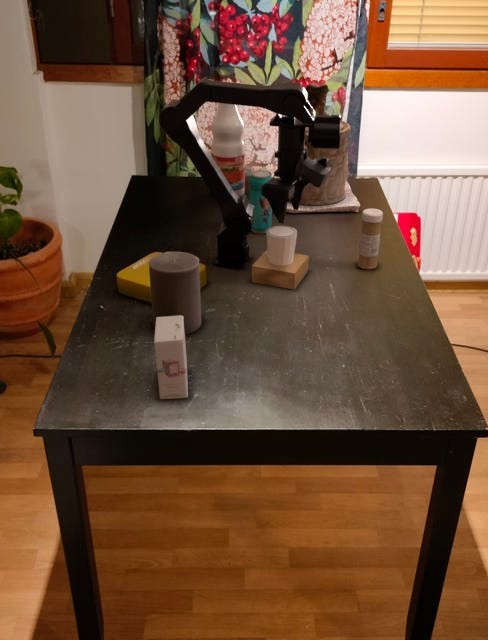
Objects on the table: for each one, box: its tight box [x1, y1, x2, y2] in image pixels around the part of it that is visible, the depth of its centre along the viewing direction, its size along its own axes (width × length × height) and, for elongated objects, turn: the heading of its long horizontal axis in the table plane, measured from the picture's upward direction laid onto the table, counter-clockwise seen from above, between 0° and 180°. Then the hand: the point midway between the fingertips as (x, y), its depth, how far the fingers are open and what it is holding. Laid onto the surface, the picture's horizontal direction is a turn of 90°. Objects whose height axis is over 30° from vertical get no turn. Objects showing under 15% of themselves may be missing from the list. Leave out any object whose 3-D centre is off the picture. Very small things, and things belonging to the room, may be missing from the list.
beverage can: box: [249, 169, 273, 235], centre depth 180 cm, size 6×6×15 cm
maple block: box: [251, 248, 310, 290], centre depth 160 cm, size 10×10×4 cm
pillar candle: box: [149, 251, 202, 335], centre depth 139 cm, size 10×10×15 cm
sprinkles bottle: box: [357, 208, 384, 270], centre depth 163 cm, size 5×5×13 cm
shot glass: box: [265, 225, 298, 266], centre depth 157 cm, size 7×7×7 cm
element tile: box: [116, 251, 208, 305], centre depth 155 cm, size 15×15×5 cm
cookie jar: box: [286, 83, 361, 214], centre depth 195 cm, size 25×25×32 cm
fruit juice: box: [210, 103, 246, 196], centre depth 199 cm, size 9×9×28 cm
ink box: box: [153, 315, 189, 400], centre depth 122 cm, size 9×5×12 cm, turn 5°
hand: (288, 216), depth 160 cm, fingers open, 9 cm apart
